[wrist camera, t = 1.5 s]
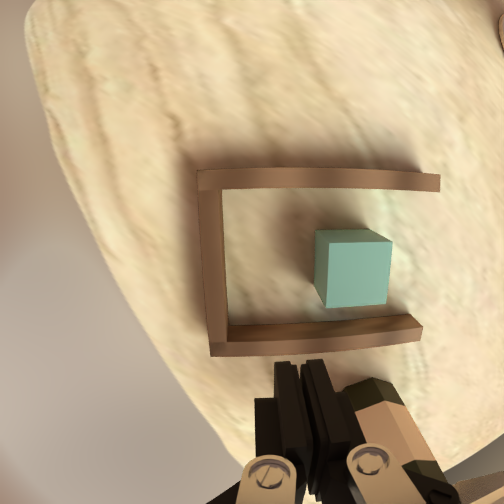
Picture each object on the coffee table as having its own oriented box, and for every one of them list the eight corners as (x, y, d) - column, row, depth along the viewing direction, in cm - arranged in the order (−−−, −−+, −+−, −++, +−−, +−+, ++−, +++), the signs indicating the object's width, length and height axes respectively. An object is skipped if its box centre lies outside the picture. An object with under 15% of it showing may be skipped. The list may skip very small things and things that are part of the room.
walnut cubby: (423, 173, 25) (440, 174, 22) (407, 326, 29) (420, 340, 26) (202, 170, 25) (196, 170, 22) (214, 339, 29) (210, 356, 26)
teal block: (369, 229, 26) (392, 241, 21) (365, 282, 28) (385, 303, 23) (315, 229, 26) (329, 243, 21) (313, 284, 28) (325, 308, 23)
